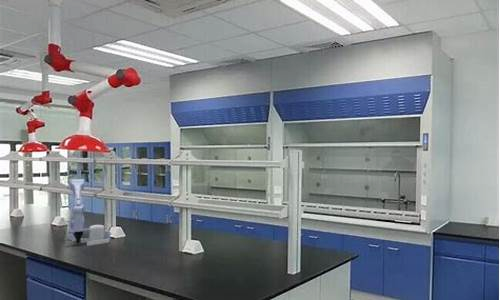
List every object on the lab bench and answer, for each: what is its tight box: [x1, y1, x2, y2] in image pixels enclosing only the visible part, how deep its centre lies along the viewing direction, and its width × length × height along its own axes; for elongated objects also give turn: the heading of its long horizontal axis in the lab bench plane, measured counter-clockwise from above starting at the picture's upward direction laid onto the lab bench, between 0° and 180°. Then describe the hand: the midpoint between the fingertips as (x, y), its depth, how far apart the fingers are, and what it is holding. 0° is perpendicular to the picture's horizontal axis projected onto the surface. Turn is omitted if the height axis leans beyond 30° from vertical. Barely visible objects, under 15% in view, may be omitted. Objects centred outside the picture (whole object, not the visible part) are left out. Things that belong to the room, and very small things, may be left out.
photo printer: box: [88, 224, 105, 241], centre depth 269 cm, size 10×4×12 cm, turn 120°
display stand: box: [80, 229, 112, 246], centre depth 269 cm, size 12×16×7 cm
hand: (78, 243), depth 261 cm, fingers closed
